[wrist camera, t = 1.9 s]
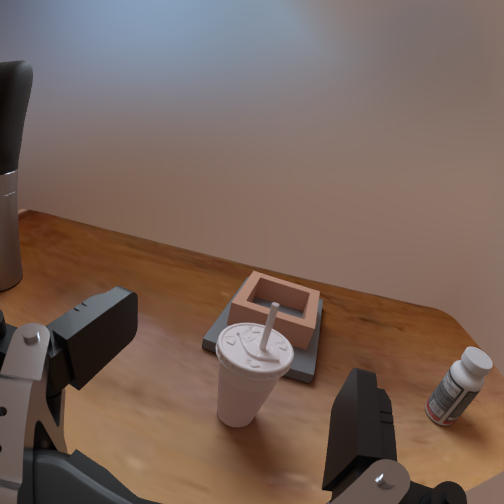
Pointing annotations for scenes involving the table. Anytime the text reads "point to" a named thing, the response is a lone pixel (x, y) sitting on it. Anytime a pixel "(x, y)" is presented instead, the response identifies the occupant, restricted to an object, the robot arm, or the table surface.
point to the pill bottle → (458, 387)
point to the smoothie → (249, 368)
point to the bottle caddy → (286, 322)
